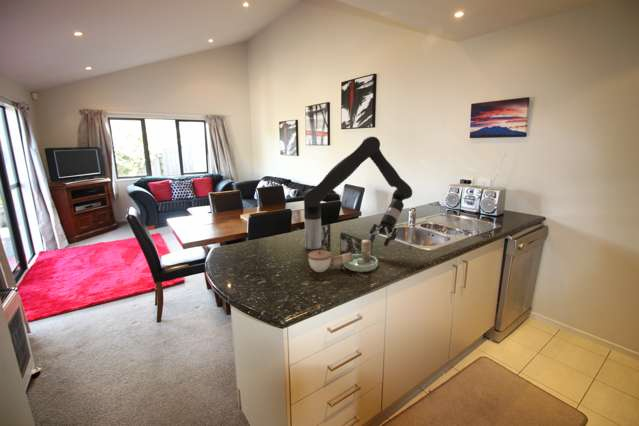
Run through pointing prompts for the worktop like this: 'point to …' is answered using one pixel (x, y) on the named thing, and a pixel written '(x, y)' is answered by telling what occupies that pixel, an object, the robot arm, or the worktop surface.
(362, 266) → the ring dish
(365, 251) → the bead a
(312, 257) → the lidded jar
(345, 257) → the beige banded cylinder
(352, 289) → the worktop surface
